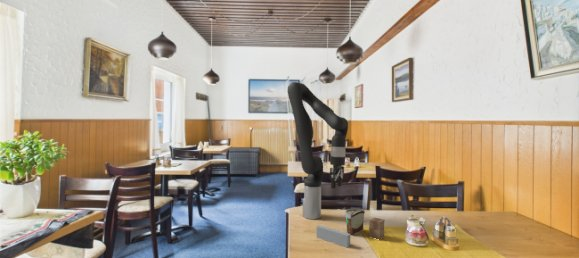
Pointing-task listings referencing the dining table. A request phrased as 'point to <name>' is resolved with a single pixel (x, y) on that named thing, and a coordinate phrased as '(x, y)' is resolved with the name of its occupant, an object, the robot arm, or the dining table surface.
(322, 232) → the rail
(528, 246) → the dining table surface
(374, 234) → the walnut block
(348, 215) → the food container
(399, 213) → the dining table surface
